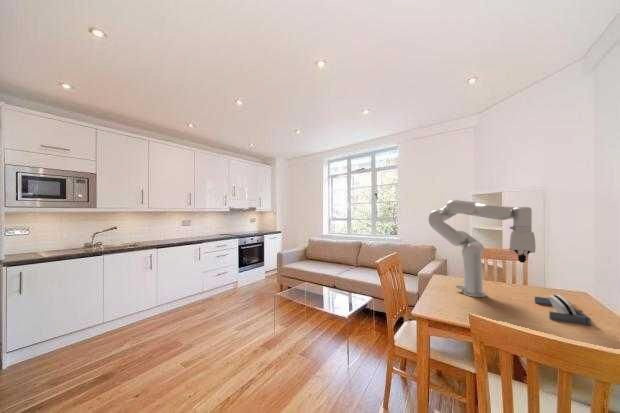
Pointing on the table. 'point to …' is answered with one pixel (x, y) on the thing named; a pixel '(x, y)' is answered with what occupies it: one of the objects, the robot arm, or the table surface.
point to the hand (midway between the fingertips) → (521, 262)
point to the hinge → (561, 305)
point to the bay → (577, 319)
